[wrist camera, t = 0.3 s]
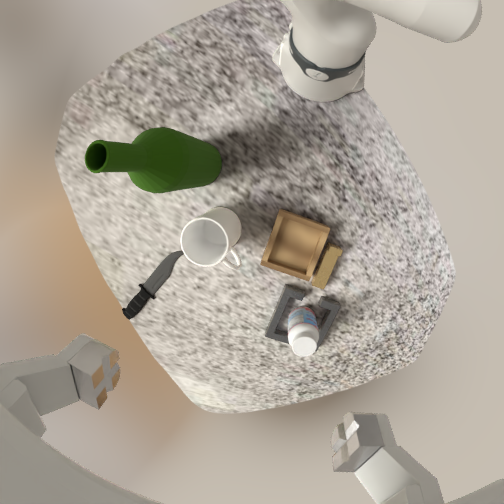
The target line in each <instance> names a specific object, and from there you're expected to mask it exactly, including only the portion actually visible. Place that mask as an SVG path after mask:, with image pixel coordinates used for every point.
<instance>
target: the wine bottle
mask: <svg viewBox="0 0 504 504" xmlns="http://www.w3.org/2000/svg"><path fill="white" fill-rule="evenodd" d="M85 164H86V166H87V168H88V169H89V170H90V171H91V172H93V173H100V172H128V174H129V176H130V178H131V180H132V181H133V183H134V184H135V185H136V186H138V187H139V188H141V189H142V190H145V191H148V192H152V193H165V192H170V191H176V190H182V189H189V188H195V187H201V186H205V185H208V184H210V183H212V182H213V181H214V180H215V179H216V178H217V177H218V175H219V173H220V171H221V167H222V160H221V156H220V154H219V152H218V150H217V149H216V148H215V147H214V146H212V145H211V144H209V143H206V142H204V141H202V140H199V139H197V138H194V137H192V136H189V135H187V134H184V133H181V132H179V131H176V130H174V129H171V128H165V127H160V128H152V129H149V130H146V131H144V132H142V133H141V134H140V135H138V136H137V137H136V139H135V140H134V141H133V142H132V144H129V143H120V142H110V141H104V140H96V141H94V142H92V143H91V144H90V145H89V147H88V148H87V151H86V154H85Z"/></svg>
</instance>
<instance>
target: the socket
mask: <svg viewBox="0 0 504 504" xmlns="http://www.w3.org/2000/svg"><path fill="white" fill-rule="evenodd" d="M304 295H305V293H304V290H301V289H298V288H295V287H292V286H289V285H286V284H285V286H284V289H283V291H282V294H281V296H280V298H279V301H278V303H277V306H276V308H275V311H274V313H273V315H272V318H271V320H270V322H269V325H268V327H267V329H266V332H265V337H268V338H271V339H275V340H278V341H281V342H285V343H288V344H290V343H289V341H288V333H287V332H284V331H281V330H277V329H276V327H277V325H278V323H279V320H280V318H281V316H282V313H283V311H284V309H285V307H286V304H287V302H288V300H289V297H292V298H295V299H298V300H301V301H302V300H303V297H304ZM319 306H320V307H323V308H326V309H328V311H327V313H326V315H325V317H324V319H323V321H322V323H321V325H320V327H319V328H318V332H319V340H318V342H317V348H316V350H315V351H317V350H318V348H319V346H320V344H321V342H322V341H323V339H324V337H325V335H326V333H327V331H328V330H329V328H330V326H331V324H332V322H333V320H334V318H335V316H336V314H337V312H338V310H339V308H340V304H339V302H337V301H334V300H331V299H328V298H325V297H322V296H321V298H320V300H319Z"/></svg>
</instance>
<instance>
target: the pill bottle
mask: <svg viewBox="0 0 504 504" xmlns="http://www.w3.org/2000/svg"><path fill="white" fill-rule="evenodd" d="M318 340H319V332H318V326H317V321H316V316H315V313H314V312H313V310H311V309H310V308H308V307H298V308H295V309H294V310H292V311H291V313H290V314H289V316H288V341H289V343H290V345H291V346H292V350H293V352H294V353H295V354H296V355H298V356H302V357H305V356H309V355H311V354H313V353H314V352H315V350H316V348H317V342H318Z"/></svg>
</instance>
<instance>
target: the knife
mask: <svg viewBox="0 0 504 504" xmlns="http://www.w3.org/2000/svg"><path fill="white" fill-rule="evenodd" d="M182 254H184V253H183V251H179V252H174V253H171V254H170V255H169V256H167V257H166V258H165V259H164V260H163V261H162V262H161V264H160V265H159V266H158V267H157V268H156V270H155V271H154V272H153V273H152V275H151V276H150V277H149V278H148V280H147V281H146V282H145V283H144V285H142V284H139V285H138V286H140V287H141V291H140V292H139V293H138V294H137V295H136V296H135V297H134V298H133V299H132V300H131V301H130V303H129V304H128V306H127V308H126V310H125V309H124V308H123V309H122V310H123V314H124V315H125V316H126V317H127V318H128V319H131V318H133V316H135V315H136V314H137V313H138V312H139V311H140V310H141V308H142V307H143V306H144V304H145V303H146V301H147V299H148V298H149V297H151V298H152V299H155V297H154V296H153V294H154V293H155V292H156V291H157V290H158V288H159V287H160V286H161V285H162V284H163V282H164V281H165V280H166V279H167V278H168V277H169V276H170V272H171V269H172V267H173V264H174V262H175V261H176V260H177V258H178V257H180V256H181V255H182Z"/></svg>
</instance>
